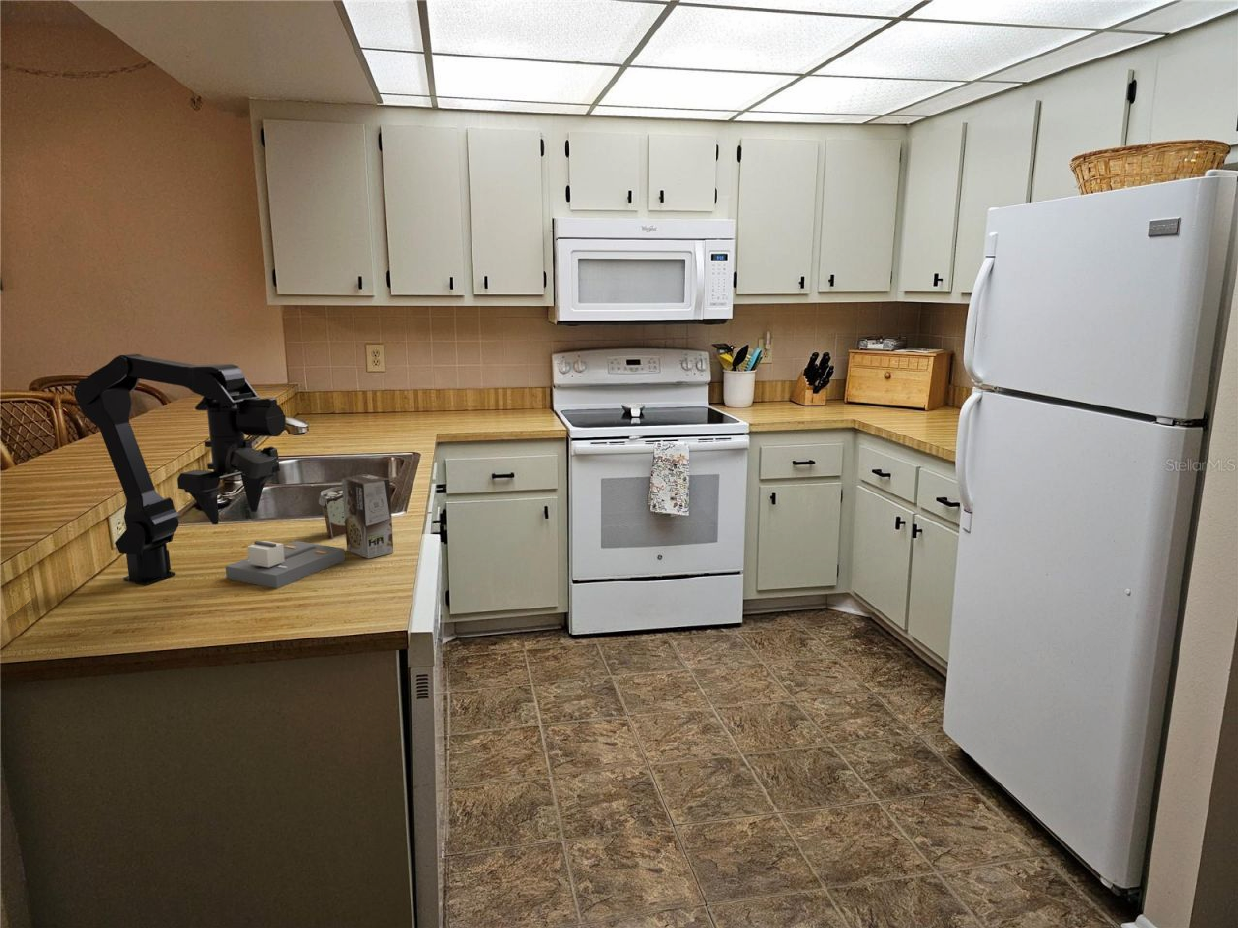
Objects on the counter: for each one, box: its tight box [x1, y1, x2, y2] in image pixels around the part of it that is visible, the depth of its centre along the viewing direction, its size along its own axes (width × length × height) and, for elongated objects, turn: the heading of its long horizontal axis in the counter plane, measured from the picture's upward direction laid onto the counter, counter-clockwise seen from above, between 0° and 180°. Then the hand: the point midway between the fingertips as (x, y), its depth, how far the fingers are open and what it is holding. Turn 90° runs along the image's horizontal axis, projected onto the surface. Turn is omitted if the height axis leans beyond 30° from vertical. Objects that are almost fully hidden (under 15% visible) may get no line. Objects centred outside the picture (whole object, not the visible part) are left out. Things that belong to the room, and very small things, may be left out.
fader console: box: [225, 540, 346, 589], centre depth 161 cm, size 18×13×3 cm
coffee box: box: [341, 473, 394, 559], centre depth 172 cm, size 9×6×16 cm
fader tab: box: [247, 540, 285, 567], centre depth 156 cm, size 4×5×4 cm
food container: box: [318, 486, 346, 540], centre depth 187 cm, size 12×6×10 cm, turn 144°
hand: (235, 517), depth 150 cm, fingers open, 9 cm apart
